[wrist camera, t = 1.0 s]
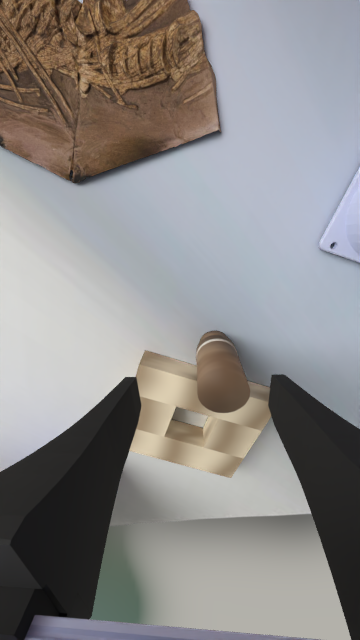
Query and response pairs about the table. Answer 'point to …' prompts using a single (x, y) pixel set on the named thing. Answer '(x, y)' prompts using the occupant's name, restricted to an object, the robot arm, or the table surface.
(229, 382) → the peg
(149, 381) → the board
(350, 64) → the table surface
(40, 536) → the robot arm
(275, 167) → the table surface
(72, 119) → the wooden fragment
